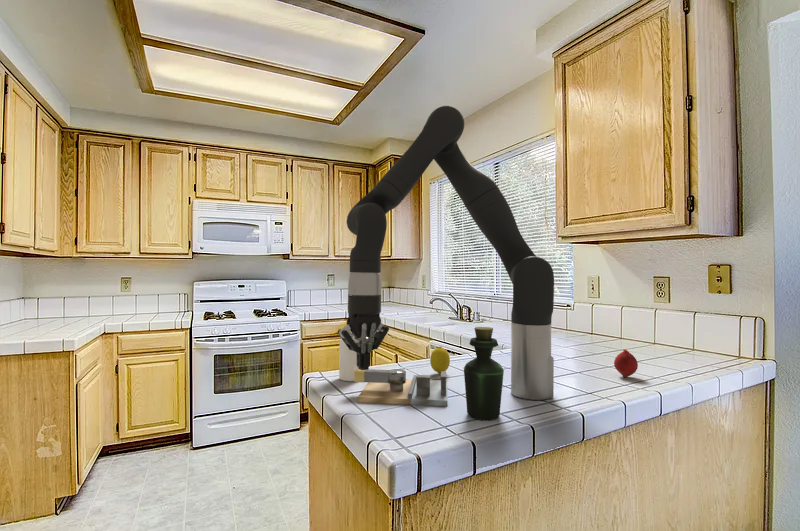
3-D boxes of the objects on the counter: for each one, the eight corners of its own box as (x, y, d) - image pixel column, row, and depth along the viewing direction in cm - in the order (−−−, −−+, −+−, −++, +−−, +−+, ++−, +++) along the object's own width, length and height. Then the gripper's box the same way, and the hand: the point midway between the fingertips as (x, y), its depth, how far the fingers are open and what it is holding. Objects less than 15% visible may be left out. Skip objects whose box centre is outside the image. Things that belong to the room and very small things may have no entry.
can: (358, 382, 109) (359, 337, 109) (335, 381, 110) (336, 336, 110) (365, 376, 115) (366, 333, 115) (343, 375, 116) (344, 332, 116)
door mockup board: (447, 385, 107) (447, 364, 107) (447, 406, 91) (447, 381, 91) (370, 382, 109) (371, 361, 109) (358, 402, 93) (358, 377, 93)
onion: (638, 376, 117) (638, 348, 117) (637, 381, 112) (637, 351, 112) (615, 373, 120) (615, 346, 120) (613, 377, 115) (613, 349, 115)
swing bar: (406, 380, 100) (406, 369, 100) (404, 385, 96) (404, 373, 96) (357, 378, 101) (357, 367, 101) (353, 383, 97) (353, 372, 97)
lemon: (428, 372, 120) (429, 344, 120) (447, 371, 121) (447, 344, 121) (431, 377, 115) (432, 348, 115) (451, 376, 115) (451, 348, 115)
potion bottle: (512, 417, 84) (512, 329, 84) (482, 425, 80) (483, 332, 80) (483, 406, 91) (484, 324, 91) (455, 413, 86) (455, 327, 86)
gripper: (379, 291, 100) (377, 362, 100) (330, 292, 92) (329, 370, 92) (398, 292, 94) (396, 368, 94) (348, 294, 86) (346, 377, 86)
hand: (363, 369), depth 93 cm, fingers closed
